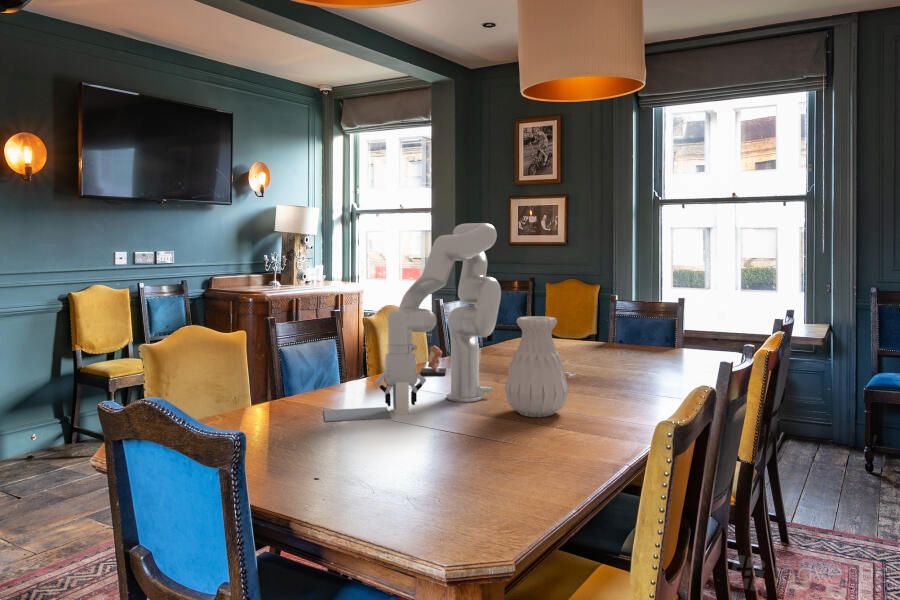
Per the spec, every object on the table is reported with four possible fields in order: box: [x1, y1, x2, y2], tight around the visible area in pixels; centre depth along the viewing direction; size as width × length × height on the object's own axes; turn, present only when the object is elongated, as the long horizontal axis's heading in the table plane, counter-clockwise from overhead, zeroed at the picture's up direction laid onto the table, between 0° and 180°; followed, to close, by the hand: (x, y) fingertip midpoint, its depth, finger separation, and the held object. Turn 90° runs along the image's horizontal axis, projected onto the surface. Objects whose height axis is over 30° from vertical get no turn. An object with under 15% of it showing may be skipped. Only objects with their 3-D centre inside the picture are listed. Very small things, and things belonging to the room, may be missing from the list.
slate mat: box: [323, 406, 392, 423], centre depth 216 cm, size 20×14×1 cm
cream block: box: [392, 382, 410, 416], centre depth 220 cm, size 4×7×10 cm, turn 12°
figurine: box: [419, 344, 447, 377], centre depth 284 cm, size 10×10×12 cm
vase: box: [504, 315, 569, 418], centre depth 216 cm, size 20×20×30 cm
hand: (400, 404), depth 220 cm, fingers open, 7 cm apart
